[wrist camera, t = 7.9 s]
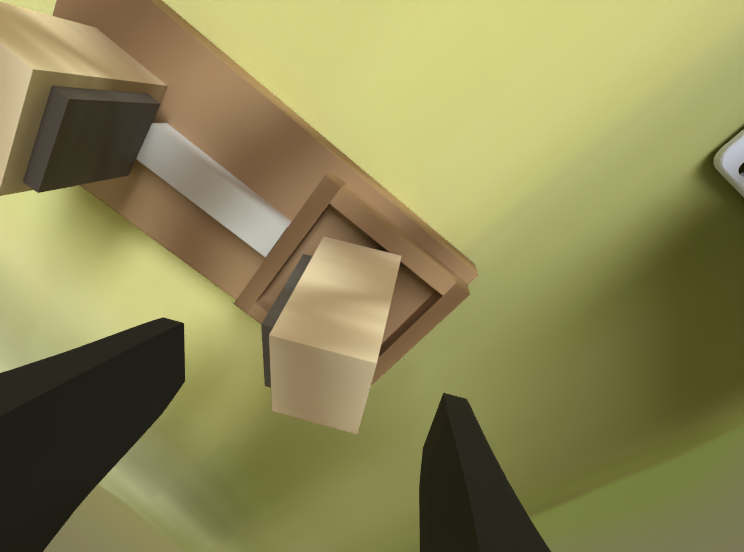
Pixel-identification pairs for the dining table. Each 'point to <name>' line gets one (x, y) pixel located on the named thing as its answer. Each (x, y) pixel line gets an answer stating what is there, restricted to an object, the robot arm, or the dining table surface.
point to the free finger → (328, 333)
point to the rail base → (202, 159)
